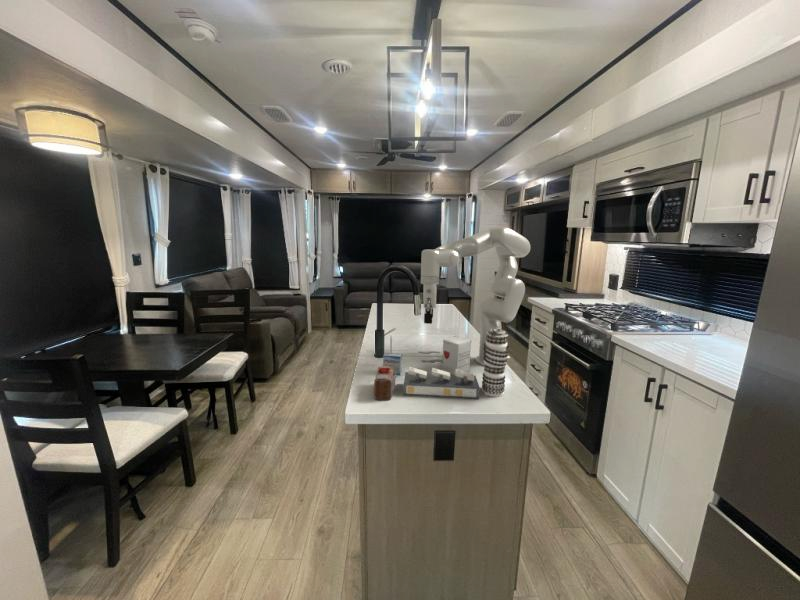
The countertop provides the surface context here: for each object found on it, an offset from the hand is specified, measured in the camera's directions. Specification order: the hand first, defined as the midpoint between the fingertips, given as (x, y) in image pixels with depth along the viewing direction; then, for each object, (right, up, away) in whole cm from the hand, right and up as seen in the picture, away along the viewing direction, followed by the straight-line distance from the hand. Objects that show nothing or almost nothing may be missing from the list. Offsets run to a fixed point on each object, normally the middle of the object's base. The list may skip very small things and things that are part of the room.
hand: (428, 320), depth 134 cm
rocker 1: (-5, -20, -10) cm, 23 cm away
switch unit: (+4, -27, -9) cm, 29 cm away
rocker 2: (+4, -20, -11) cm, 23 cm away
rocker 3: (+13, -20, -11) cm, 26 cm away
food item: (-18, -27, -11) cm, 34 cm away
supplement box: (+13, -24, +10) cm, 29 cm away
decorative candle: (+24, -27, -9) cm, 38 cm away
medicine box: (-15, -24, +7) cm, 29 cm away
